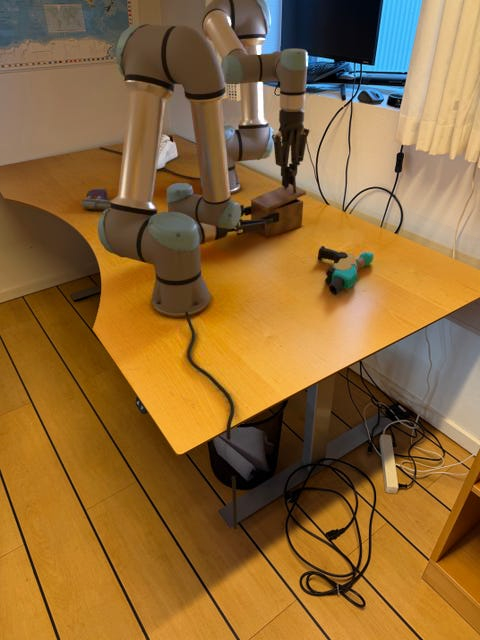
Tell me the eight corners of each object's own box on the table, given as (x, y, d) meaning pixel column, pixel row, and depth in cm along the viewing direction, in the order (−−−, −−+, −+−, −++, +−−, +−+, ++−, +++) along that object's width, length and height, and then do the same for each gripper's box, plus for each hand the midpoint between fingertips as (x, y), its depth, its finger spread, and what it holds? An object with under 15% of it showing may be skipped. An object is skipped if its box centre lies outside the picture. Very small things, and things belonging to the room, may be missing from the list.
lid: (288, 186, 162) (287, 161, 157) (305, 194, 156) (305, 169, 151) (251, 202, 157) (248, 177, 151) (267, 211, 151) (264, 185, 145)
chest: (285, 217, 168) (286, 193, 163) (301, 226, 162) (303, 201, 157) (250, 227, 162) (250, 202, 157) (266, 237, 156) (267, 211, 151)
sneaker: (133, 173, 208) (129, 144, 201) (161, 153, 230) (158, 127, 223) (155, 175, 205) (151, 146, 198) (180, 155, 227) (178, 129, 220)
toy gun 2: (295, 275, 127) (350, 289, 121) (327, 237, 145) (376, 248, 140) (294, 289, 129) (348, 303, 124) (326, 250, 148) (374, 261, 142)
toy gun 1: (139, 199, 183) (123, 215, 172) (94, 196, 187) (76, 211, 175) (137, 189, 181) (122, 205, 169) (92, 186, 184) (73, 201, 172)
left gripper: (194, 227, 157) (251, 211, 167) (230, 253, 142) (289, 234, 152) (193, 206, 152) (251, 191, 162) (229, 230, 138) (290, 212, 148)
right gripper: (303, 102, 148) (298, 177, 162) (264, 109, 141) (263, 186, 155) (319, 107, 143) (313, 183, 157) (279, 115, 136) (277, 193, 150)
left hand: (269, 211), depth 157 cm, fingers closed on chest, 9 cm apart
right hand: (288, 185), depth 156 cm, fingers closed on lid, 2 cm apart
